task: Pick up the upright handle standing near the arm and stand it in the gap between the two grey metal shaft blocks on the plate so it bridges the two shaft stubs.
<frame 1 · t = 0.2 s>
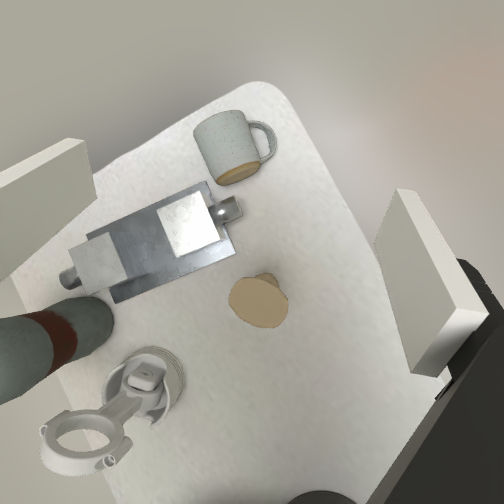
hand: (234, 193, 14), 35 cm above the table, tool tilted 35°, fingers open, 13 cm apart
shaft bed: (160, 243, 50), on the table
engine component: (151, 376, 52), on the table
handle: (266, 283, 49), on the table
ceramic mug: (240, 151, 49), on the table
bottle: (90, 321, 52), on the table
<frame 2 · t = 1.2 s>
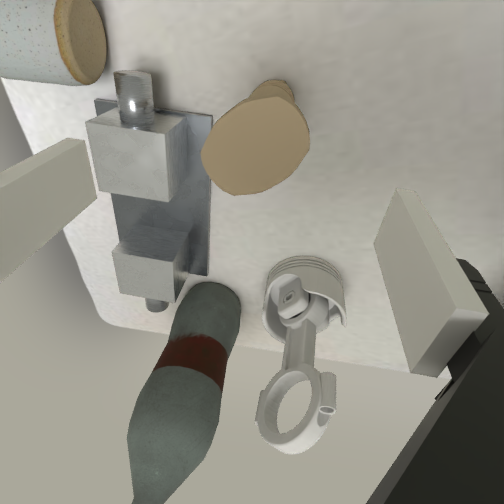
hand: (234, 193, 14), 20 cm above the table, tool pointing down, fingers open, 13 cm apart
shaft bed: (161, 199, 39), on the table
engine component: (301, 285, 44), on the table
handle: (275, 96, 30), on the table
ceramic mug: (63, 12, 29), on the table
bottle: (214, 301, 48), on the table
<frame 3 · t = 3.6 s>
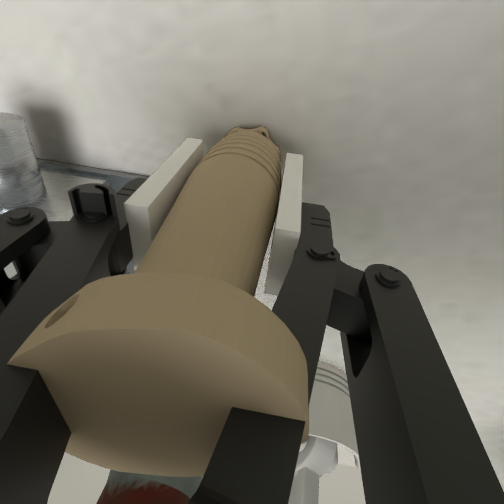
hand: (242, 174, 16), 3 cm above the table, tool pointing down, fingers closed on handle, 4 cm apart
shaft bed: (92, 284, 26), on the table
engine component: (297, 388, 32), on the table
handle: (251, 150, 18), on the table, touching gripper
bottle: (181, 397, 36), on the table
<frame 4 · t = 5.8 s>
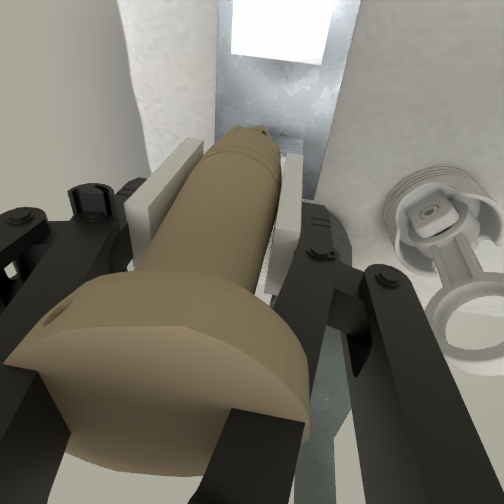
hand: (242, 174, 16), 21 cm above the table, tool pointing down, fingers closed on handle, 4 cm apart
shaft bed: (276, 95, 32), on the table
engine component: (425, 209, 37), on the table
handle: (252, 149, 18), point 17 cm above the table, touching gripper
bottle: (312, 235, 42), on the table
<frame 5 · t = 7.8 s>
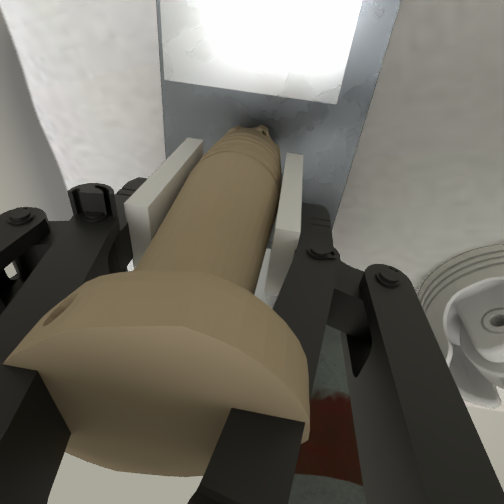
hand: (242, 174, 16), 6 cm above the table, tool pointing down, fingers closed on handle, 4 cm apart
shaft bed: (258, 136, 20), on the table
engine component: (479, 296, 26), on the table
handle: (252, 149, 18), point 3 cm above the table, touching gripper
bottle: (313, 320, 30), on the table
when the fingers open (5 cm above the table, at t = 8.2 s): handle drops 1 cm, resting on shaft bed.
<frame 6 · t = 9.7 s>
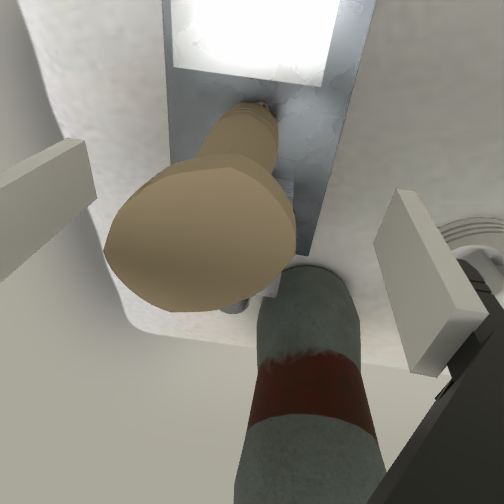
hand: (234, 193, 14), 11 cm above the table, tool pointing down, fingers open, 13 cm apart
shaft bed: (254, 121, 23), on the table
engine component: (456, 268, 28), on the table
handle: (254, 122, 22), resting on shaft bed
bottle: (306, 295, 32), on the table
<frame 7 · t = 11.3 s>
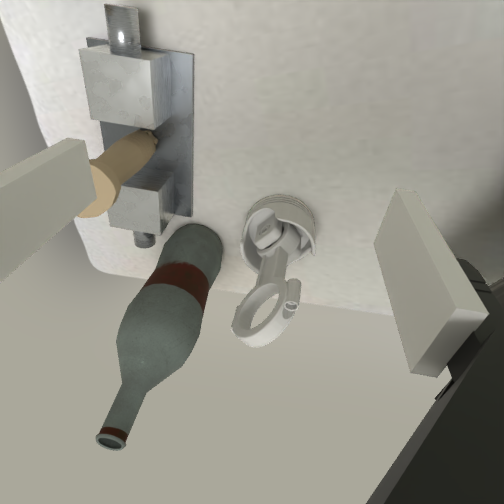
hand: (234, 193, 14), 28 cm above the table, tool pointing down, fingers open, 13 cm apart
shaft bed: (148, 139, 42), on the table
engine component: (277, 226, 48), on the table
handle: (147, 140, 42), resting on shaft bed
bottle: (198, 244, 52), on the table
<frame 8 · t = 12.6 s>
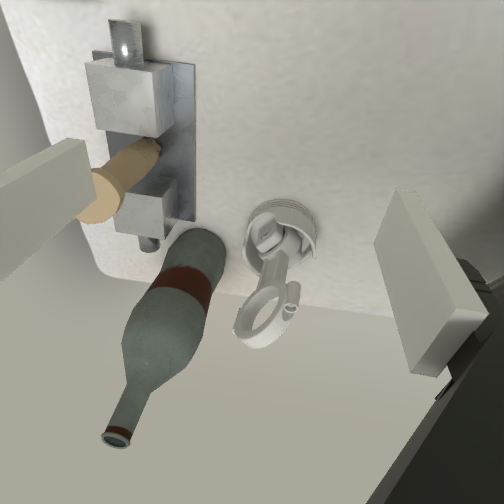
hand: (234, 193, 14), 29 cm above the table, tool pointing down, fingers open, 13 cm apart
shaft bed: (152, 147, 44), on the table
engine component: (279, 230, 49), on the table
handle: (151, 147, 43), resting on shaft bed
bottle: (202, 248, 53), on the table
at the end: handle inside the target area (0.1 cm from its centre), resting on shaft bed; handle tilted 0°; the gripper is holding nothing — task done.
